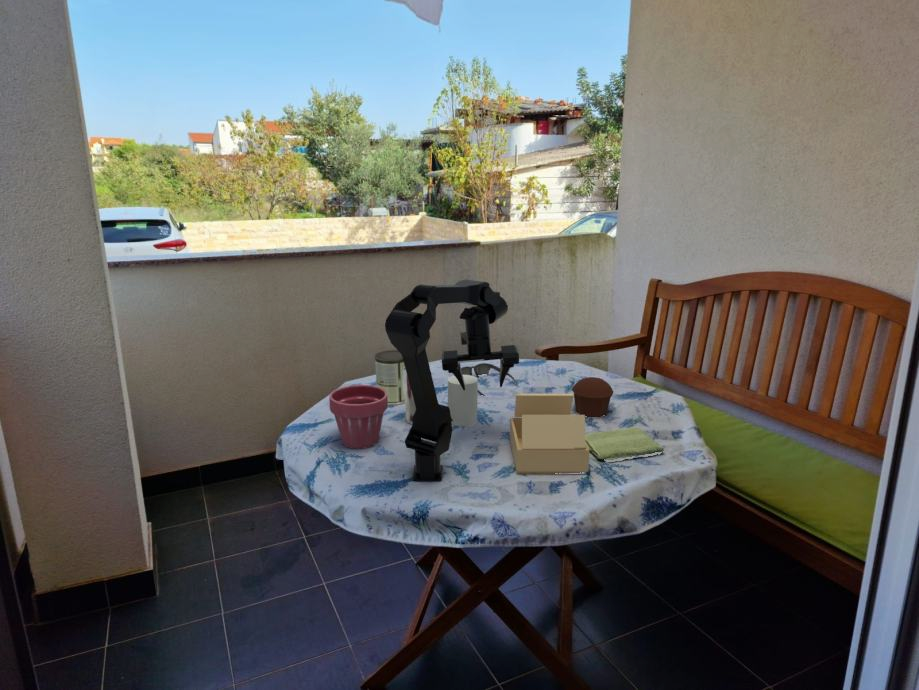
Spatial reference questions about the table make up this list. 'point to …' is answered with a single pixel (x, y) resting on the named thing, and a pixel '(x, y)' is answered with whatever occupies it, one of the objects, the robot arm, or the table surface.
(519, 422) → the carton
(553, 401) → the far flap
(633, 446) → the washcloth
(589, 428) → the table surface
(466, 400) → the off-white closed cylinder
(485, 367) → the sunglasses
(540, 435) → the near flap
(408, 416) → the silver metal cylinder
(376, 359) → the coffee can
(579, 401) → the muffin
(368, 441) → the plant pot
